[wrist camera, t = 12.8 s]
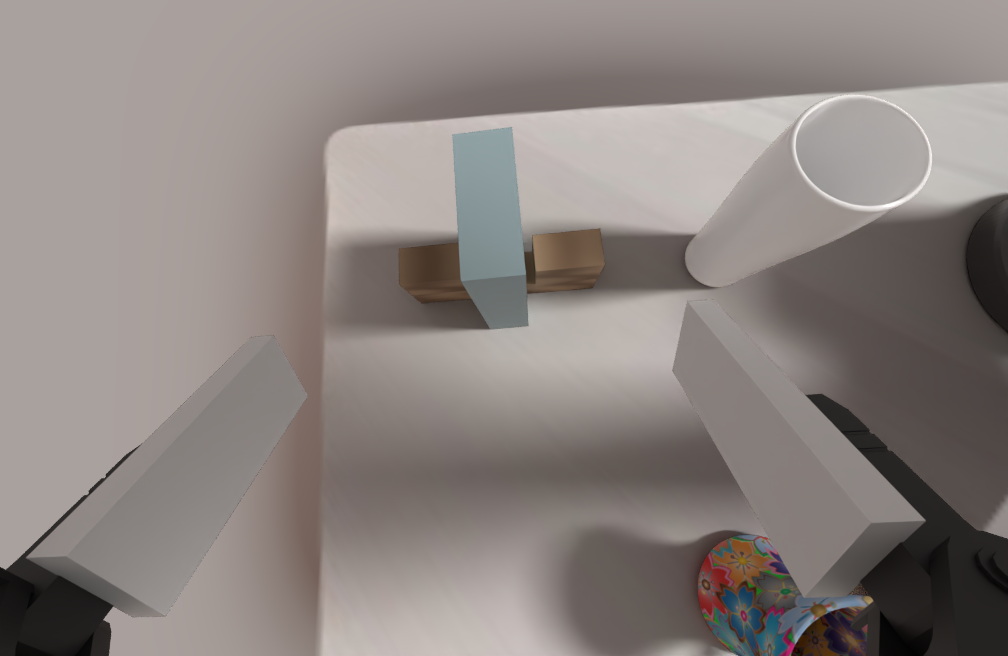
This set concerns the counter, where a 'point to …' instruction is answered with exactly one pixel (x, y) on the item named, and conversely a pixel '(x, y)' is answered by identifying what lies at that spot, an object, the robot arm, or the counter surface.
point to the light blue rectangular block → (490, 226)
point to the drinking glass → (813, 187)
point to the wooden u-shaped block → (547, 266)
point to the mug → (772, 605)
